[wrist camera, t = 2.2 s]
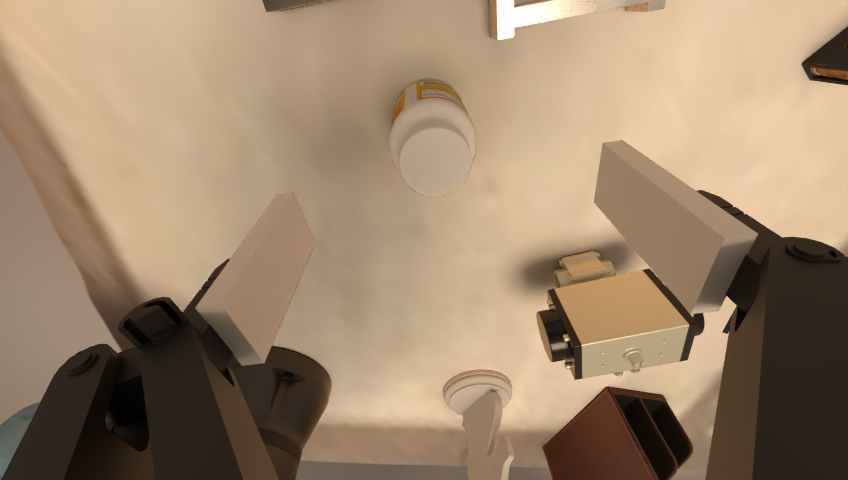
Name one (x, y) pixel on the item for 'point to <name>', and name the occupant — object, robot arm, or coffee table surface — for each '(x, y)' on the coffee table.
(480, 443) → the chess piece
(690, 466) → the coffee table surface
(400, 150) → the supplement bottle
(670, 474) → the letter holder
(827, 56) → the ammunition clip
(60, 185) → the coffee table surface
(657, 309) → the pneumatic valve
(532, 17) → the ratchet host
